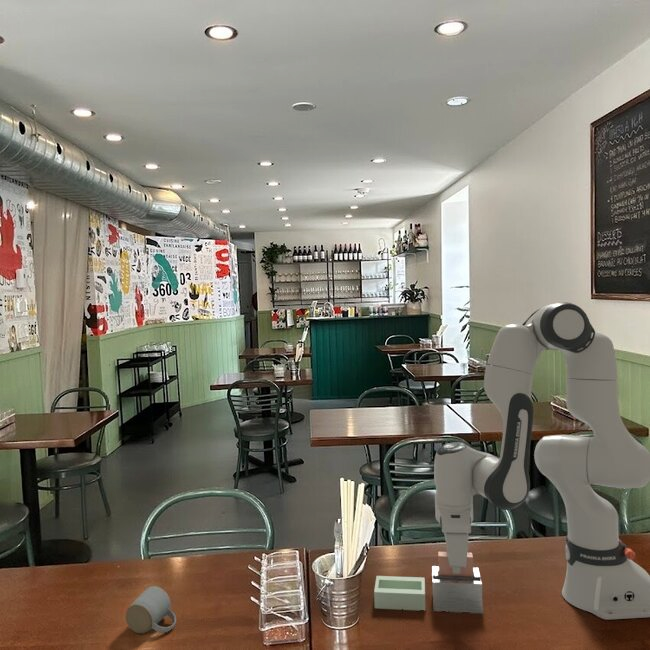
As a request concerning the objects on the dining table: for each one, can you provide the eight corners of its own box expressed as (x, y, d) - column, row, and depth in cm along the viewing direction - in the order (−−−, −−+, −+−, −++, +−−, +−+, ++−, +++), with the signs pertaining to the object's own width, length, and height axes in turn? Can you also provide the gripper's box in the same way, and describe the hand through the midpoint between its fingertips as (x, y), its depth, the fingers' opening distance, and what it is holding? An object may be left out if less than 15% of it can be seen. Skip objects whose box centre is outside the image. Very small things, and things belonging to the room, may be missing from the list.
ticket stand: (425, 593, 143) (424, 577, 143) (425, 610, 135) (424, 594, 135) (377, 591, 145) (376, 575, 145) (374, 608, 137) (374, 592, 137)
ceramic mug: (123, 633, 131) (122, 601, 130) (144, 614, 139) (143, 583, 138) (164, 640, 128) (163, 607, 127) (183, 620, 136) (182, 588, 135)
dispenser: (479, 595, 141) (478, 565, 140) (482, 613, 133) (481, 581, 132) (432, 593, 142) (431, 563, 142) (433, 611, 135) (432, 579, 134)
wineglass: (343, 555, 165) (341, 515, 165) (359, 561, 162) (358, 519, 161) (331, 563, 161) (329, 521, 160) (347, 569, 157) (345, 526, 157)
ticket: (473, 593, 138) (472, 552, 138) (474, 598, 136) (473, 557, 135) (439, 591, 139) (438, 551, 139) (439, 597, 137) (438, 556, 136)
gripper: (439, 496, 147) (440, 548, 148) (442, 528, 127) (444, 589, 128) (464, 496, 146) (465, 549, 147) (471, 529, 126) (473, 590, 127)
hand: (455, 568), depth 137 cm, fingers closed on ticket, 2 cm apart
